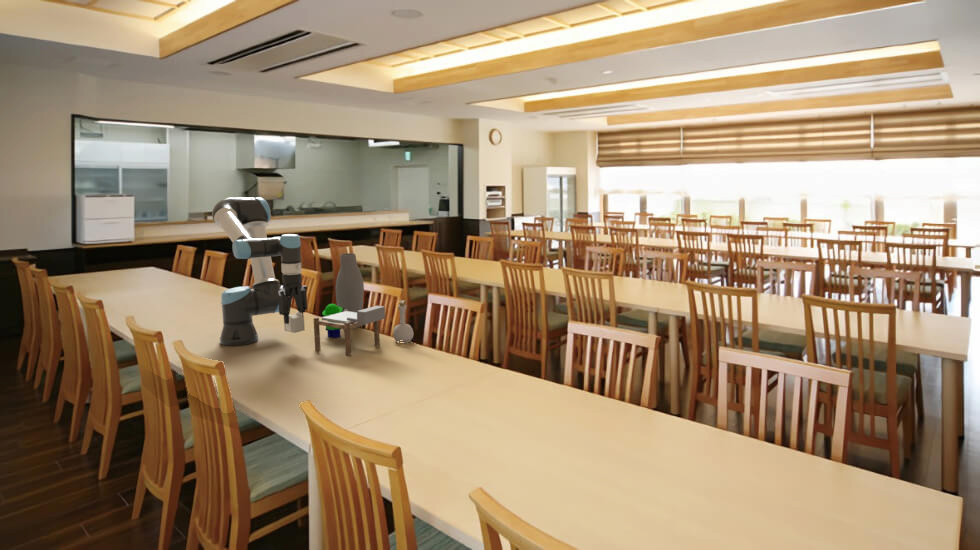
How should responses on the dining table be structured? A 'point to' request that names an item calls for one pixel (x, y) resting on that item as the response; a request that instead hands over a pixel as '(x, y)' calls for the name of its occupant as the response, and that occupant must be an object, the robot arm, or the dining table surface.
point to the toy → (332, 331)
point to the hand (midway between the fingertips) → (294, 329)
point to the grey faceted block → (358, 316)
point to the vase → (349, 284)
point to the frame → (346, 327)
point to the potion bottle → (402, 326)
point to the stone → (296, 323)
